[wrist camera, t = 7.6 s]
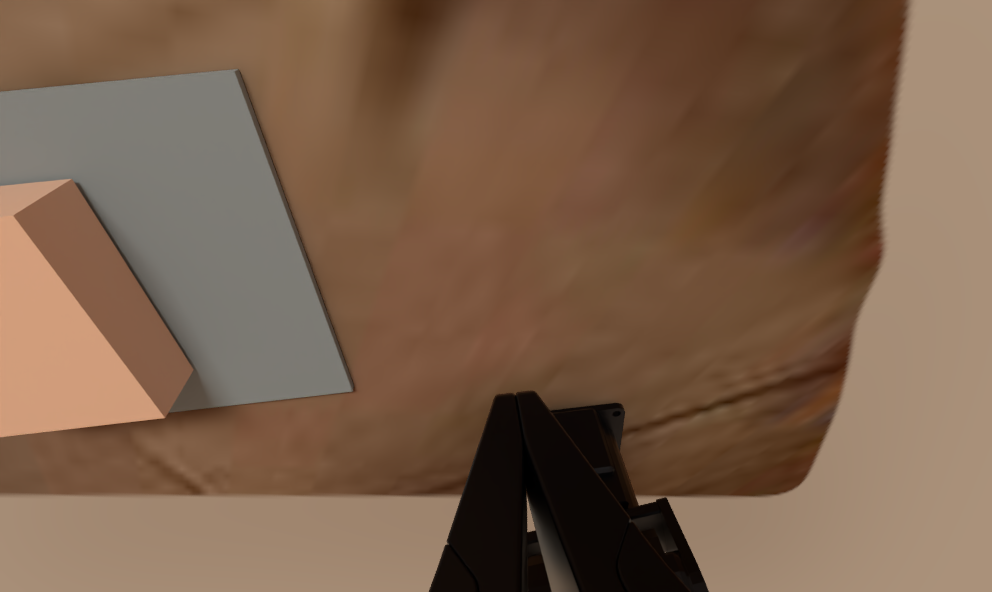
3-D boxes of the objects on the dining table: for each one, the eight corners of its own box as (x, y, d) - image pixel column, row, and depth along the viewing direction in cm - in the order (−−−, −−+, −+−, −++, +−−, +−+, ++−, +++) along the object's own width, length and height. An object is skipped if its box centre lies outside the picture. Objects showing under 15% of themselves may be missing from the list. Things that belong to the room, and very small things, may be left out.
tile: (165, 418, 21) (-43, 442, 21) (195, 366, 24) (11, 387, 23) (12, 215, 15) (-280, 245, 15) (75, 176, 18) (-174, 201, 18)
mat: (353, 385, 26) (352, 391, 26) (-21, 428, 25) (-26, 434, 25) (238, 68, 16) (234, 71, 16) (-364, 126, 16) (-381, 130, 16)
